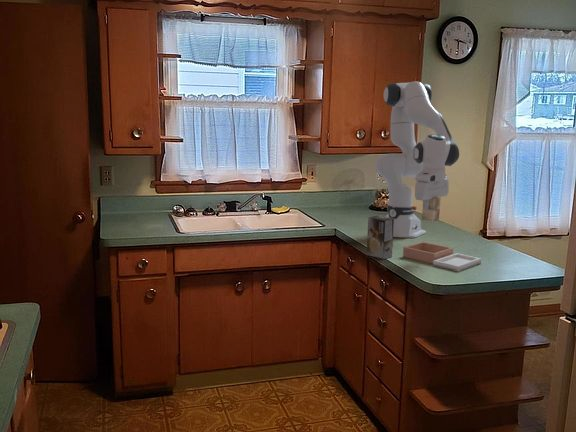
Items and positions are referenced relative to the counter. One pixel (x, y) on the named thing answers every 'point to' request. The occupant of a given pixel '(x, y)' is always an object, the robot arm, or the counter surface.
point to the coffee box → (380, 237)
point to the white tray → (457, 262)
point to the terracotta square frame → (426, 251)
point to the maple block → (432, 210)
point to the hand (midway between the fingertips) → (431, 208)
